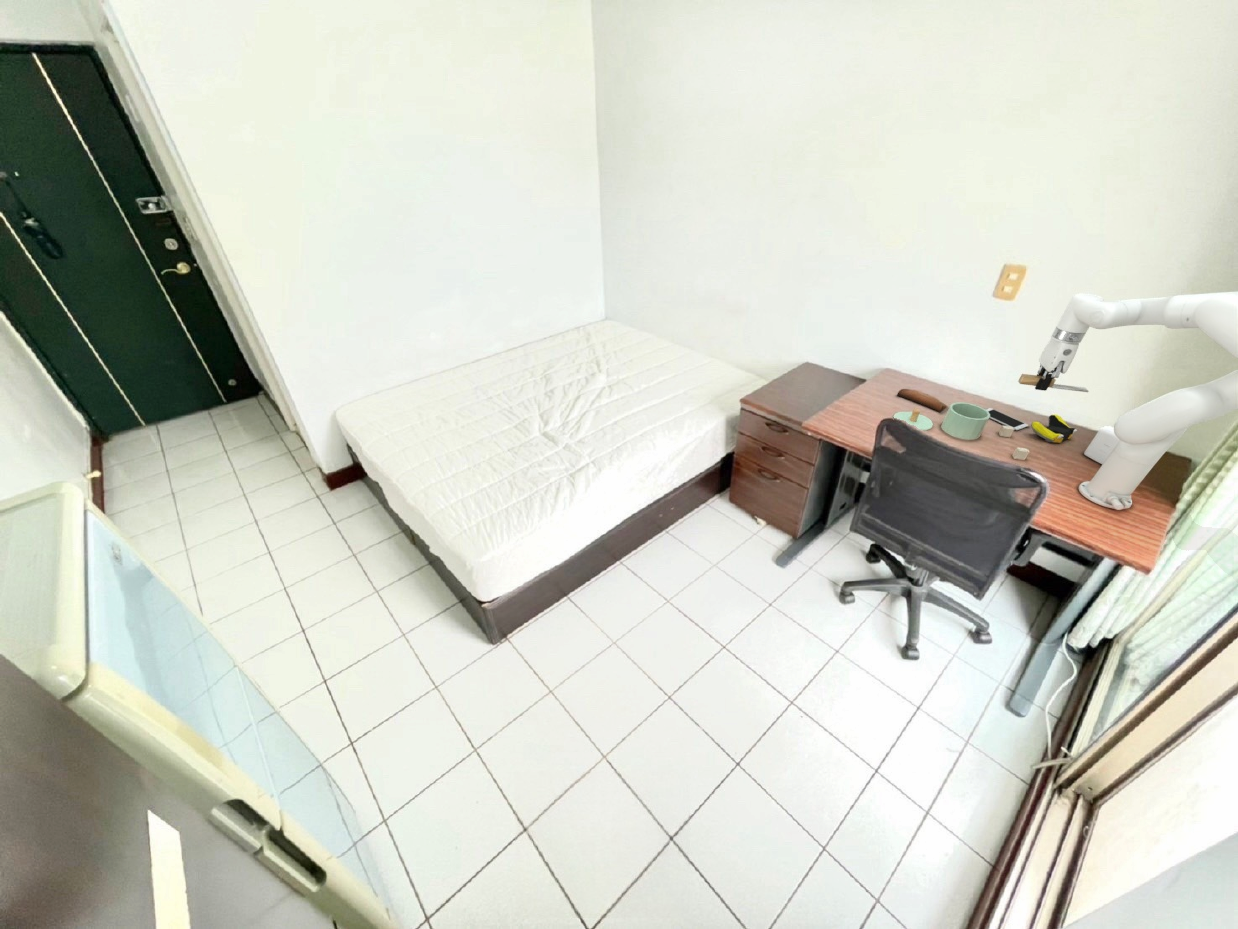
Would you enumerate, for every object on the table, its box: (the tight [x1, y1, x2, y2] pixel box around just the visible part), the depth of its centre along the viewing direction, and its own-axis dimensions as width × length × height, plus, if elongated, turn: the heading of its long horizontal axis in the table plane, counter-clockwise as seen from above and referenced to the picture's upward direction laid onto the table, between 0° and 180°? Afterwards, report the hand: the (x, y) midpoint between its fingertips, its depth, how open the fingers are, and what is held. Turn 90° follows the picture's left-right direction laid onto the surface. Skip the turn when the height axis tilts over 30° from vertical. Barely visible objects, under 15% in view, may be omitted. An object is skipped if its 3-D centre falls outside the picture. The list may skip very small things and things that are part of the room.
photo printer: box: [1083, 425, 1120, 465], centre depth 162 cm, size 10×4×12 cm, turn 14°
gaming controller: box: [1030, 414, 1078, 444], centre depth 177 cm, size 15×6×10 cm
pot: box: [940, 401, 990, 441], centre depth 179 cm, size 13×13×9 cm
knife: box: [1017, 373, 1090, 393], centre depth 160 cm, size 3×19×3 cm, turn 72°
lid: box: [892, 408, 934, 432], centre depth 185 cm, size 14×14×6 cm
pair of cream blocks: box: [998, 425, 1030, 461], centre depth 172 cm, size 17×3×4 cm, turn 163°
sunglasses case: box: [896, 388, 949, 413], centre depth 199 cm, size 18×7×7 cm
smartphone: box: [985, 407, 1029, 431], centre depth 188 cm, size 8×1×15 cm
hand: (1038, 387), depth 163 cm, fingers closed on knife, 2 cm apart
